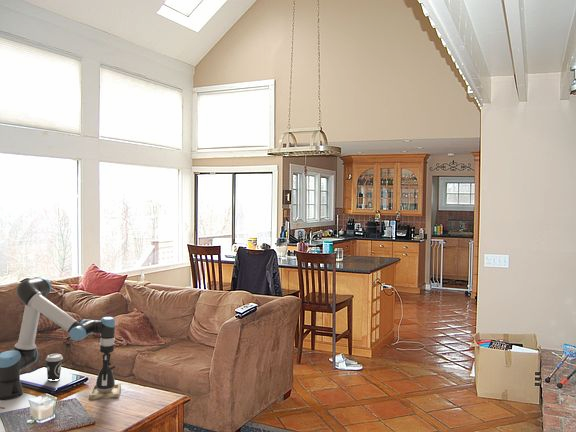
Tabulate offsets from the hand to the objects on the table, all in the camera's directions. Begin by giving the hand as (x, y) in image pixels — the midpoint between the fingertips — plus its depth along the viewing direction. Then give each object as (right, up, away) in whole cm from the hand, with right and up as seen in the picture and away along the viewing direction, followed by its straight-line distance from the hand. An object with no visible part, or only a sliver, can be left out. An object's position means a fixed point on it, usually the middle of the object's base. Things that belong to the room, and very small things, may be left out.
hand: (105, 381), depth 297 cm
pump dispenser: (0, -6, 0) cm, 6 cm away
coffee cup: (-37, -5, +17) cm, 41 cm away
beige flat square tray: (0, -7, 0) cm, 7 cm away
